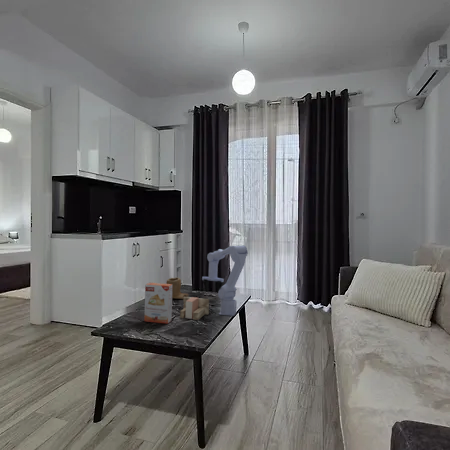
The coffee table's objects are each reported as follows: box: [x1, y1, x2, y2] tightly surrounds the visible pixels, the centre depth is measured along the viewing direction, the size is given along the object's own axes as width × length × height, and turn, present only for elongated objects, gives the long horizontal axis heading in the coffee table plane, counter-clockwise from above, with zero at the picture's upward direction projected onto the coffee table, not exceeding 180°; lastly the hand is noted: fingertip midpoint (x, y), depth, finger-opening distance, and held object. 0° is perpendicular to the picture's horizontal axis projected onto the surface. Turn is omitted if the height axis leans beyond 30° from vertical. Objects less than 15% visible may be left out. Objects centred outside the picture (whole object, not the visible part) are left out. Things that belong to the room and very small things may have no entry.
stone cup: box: [165, 276, 189, 300], centre depth 230 cm, size 15×12×15 cm
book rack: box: [179, 296, 210, 321], centre depth 189 cm, size 16×14×9 cm
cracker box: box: [143, 282, 173, 325], centre depth 177 cm, size 14×6×21 cm, turn 79°
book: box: [185, 296, 199, 320], centre depth 188 cm, size 4×10×10 cm, turn 165°
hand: (212, 291), depth 207 cm, fingers open, 7 cm apart
